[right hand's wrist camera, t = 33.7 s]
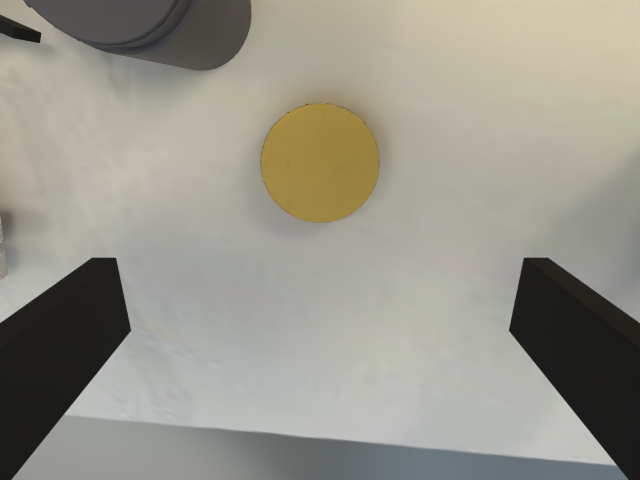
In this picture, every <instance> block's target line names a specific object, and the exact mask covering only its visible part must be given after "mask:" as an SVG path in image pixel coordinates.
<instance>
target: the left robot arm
mask: <svg viewBox="0 0 640 480" xmlns="http://www.w3.org/2000/svg"><path fill="white" fill-rule="evenodd" d="M0 33H3V34H5V35H7V36H9V37H12V38H15V39H20V40H26V41H31V42H36V43H40V38H41V33H40V32H38V31H36V30H33V29H31V28H29V27H26V26H24V25H22V24H20V23H17V22H15V21H13V20H11V19H8V18H6V17H4V16H2V15H0Z"/></svg>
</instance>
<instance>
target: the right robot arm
mask: <svg viewBox="0 0 640 480" xmlns="http://www.w3.org/2000/svg"><path fill="white" fill-rule="evenodd" d="M130 331H131V328H130V323H129V318H128V313H127V309H126V304H125V299H124V294H123V289H122V284H121V280H120V275H119V270H118V265H117V260H116V258H91V259H90V260H88V261H87V262H85V263H84V264H83V265H81V266H80V267H78V268H77V269H76V270H74V271H73V272H71V273H70V274H69V275H67V276H66V277H64V278H63V279H62V280H60V281H59V282H57V283H56V284H55V285H53V286H52V287H50V288H49V289H48V290H46V291H45V292H43V293H42V294H41V295H39V296H38V297H36V298H35V299H34V300H32V301H31V302H29V303H28V304H27V305H25V306H24V307H22V308H21V309H19V310H18V311H17V312H15V313H14V314H12V315H11V316H10V317H8V318H7V319H5V320H4V321H3V322H1V323H0V480H11V479H12V478H13V477H14V476H15V474H16V473H17V472H18V471H19V470H20V468H21V467H22V466H23V465H24V463H25V462H26V461H27V460H28V458H29V457H30V456H31V455H32V453H33V452H34V451H35V450H36V448H37V447H38V446H39V445H40V443H41V442H42V441H43V440H44V438H45V437H46V436H47V435H48V433H49V432H50V431H51V430H52V428H53V427H54V426H55V425H56V423H57V422H58V421H59V420H60V418H61V417H62V416H63V415H64V414H65V412H66V411H67V410H68V409H69V407H70V406H71V405H72V404H73V402H74V401H75V400H76V399H77V397H78V396H79V395H80V394H81V392H82V391H83V390H84V389H85V387H86V386H87V385H88V384H89V382H90V381H91V380H92V379H93V377H94V376H95V375H96V374H97V372H98V371H99V370H100V369H101V367H102V366H103V365H104V364H105V362H106V361H107V360H108V359H109V357H110V356H111V355H112V354H113V352H114V351H115V350H116V349H117V348H118V346H119V345H120V344H121V343H122V341H123V340H124V339H125V338H126V336H127V335H128V334H129V333H130ZM509 331H510V333H511V334H512V335H513V336H514V338H515V339H516V340H517V341H518V343H519V344H520V345H521V346H522V348H523V349H524V350H525V351H526V352H527V354H528V355H529V356H530V357H531V359H532V360H533V361H534V362H535V364H536V365H537V366H538V367H539V369H540V370H541V371H542V372H543V374H544V375H545V376H546V377H547V379H548V380H549V381H550V382H551V384H552V385H553V386H554V387H555V389H556V390H557V391H558V392H559V394H560V395H561V396H562V397H563V399H564V400H565V401H566V402H567V404H568V405H569V406H570V407H571V409H572V410H573V411H574V412H575V414H576V415H577V416H578V417H579V418H580V420H581V421H582V422H583V423H584V425H585V426H586V427H587V428H588V430H589V431H590V432H591V433H592V435H593V436H594V437H595V438H596V440H597V441H598V442H599V443H600V445H601V446H602V447H603V448H604V450H605V451H606V452H607V453H608V455H609V456H610V457H611V458H612V460H613V461H614V462H615V463H616V465H617V466H618V467H619V468H620V470H621V471H622V472H623V473H624V474H625V476H626V477H627V478H628V479H629V480H640V323H639V322H637V321H636V320H635V319H633V318H632V317H630V316H629V315H628V314H626V313H625V312H623V311H622V310H621V309H619V308H618V307H616V306H615V305H613V304H612V303H611V302H609V301H608V300H606V299H605V298H604V297H602V296H601V295H599V294H598V293H597V292H595V291H594V290H592V289H591V288H590V287H588V286H587V285H585V284H584V283H583V282H581V281H580V280H578V279H577V278H576V277H574V276H573V275H571V274H570V273H569V272H567V271H566V270H564V269H563V268H562V267H560V266H559V265H557V264H556V263H555V262H553V261H552V260H550V259H549V258H524V260H523V265H522V270H521V275H520V280H519V284H518V289H517V294H516V299H515V304H514V309H513V313H512V318H511V323H510V328H509Z"/></svg>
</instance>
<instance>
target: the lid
mask: <svg viewBox="0 0 640 480" xmlns="http://www.w3.org/2000/svg"><path fill="white" fill-rule="evenodd" d="M271 129H272V130H271V131H270V133H269V135H268V136H267V138H266V141H265V143H264V146H263V151H262V157H261V170H262V176H263V180H264V183H265V186H266V188H267V190H268V192H269V194H270V195H271V197H272V198H273V199H274V201H275V202H276V203H277V204H278V205H279V206H280V207H281V208H282V209H283V210H285V211H286V212H287V213H289V214H291V215H292V216H294V217H296V218H299V219H301V220H305V221H309V222H320V223H323V222H331V221H335V220H339V219H342V218H344V217H346V216H348V215H350V214H352V213H353V212H354V211H356V210H357V209H358V208H359V207H361V206H362V205H363V204H364V202H365V201H366V200H367V199H368V197H369V196H370V194H371V193H372V191H373V189H374V187H375V184H376V181H377V178H378V173H379V154H378V148H377V145H376V141H375V140H374V138H373V136H372V133H371V132H370V130H369V129H368V127H367V126H366V124H365V123H364V122H362V121H361V120H360V119H359V118H358V117H357V116H356V115H354V114H353V113H351V112H349V110H348V109H347V110H346V109H344V108H341V107H339V106H336V105H332V104H329V103H327V104H326V103H315V104H309V105H308V104H306V105H305V106H302V107H299V108H297V109H295V110H293V111H291V112H288V113H286V115H285V116H284V117H282V118H281V119H280V120H279V121H278V122H277V123H276V124H275V125H274V127H272V128H271Z"/></svg>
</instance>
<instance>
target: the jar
mask: <svg viewBox="0 0 640 480" xmlns="http://www.w3.org/2000/svg"><path fill="white" fill-rule="evenodd" d="M23 1H24V2H25V3H26V5H27V6H28V7H30V8H31V7H32V8H33V9H34V10H35V11H36V12H37V13H38V14H39V15H40V16H42V17H43V18H44V19H45V20H47V21H48V22H49V23H50V24H52V25H53V26H54V27H55V28H57V29H59V30H61V31H62V32H64V33H66V34H68V35H70V36H71V37H73V38H75V39H77V40H79V41H82V42H84V43H85V44H87V45H90V46H92V47H94V48H96V49H99V50H102V51H105V52H108V53H113V54H118V55H123V56H128V57H133V58H138V59H142V60H147V61H152V62H157V63H162V64H167V65H172V66H177V67H182V68H187V69H192V70H209V69H213V68H217V67H219V66H222V65H223V64H225V63H227V62H228V61H229V60H231V59H232V58H233V57H234V56H235V55H236V54H237V53H238V51H239V50H240V49H241V47H242V46H243V44H244V42H245V40H246V37H247V35H248V32H249V27H250V21H251V4H250V0H23Z"/></svg>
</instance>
